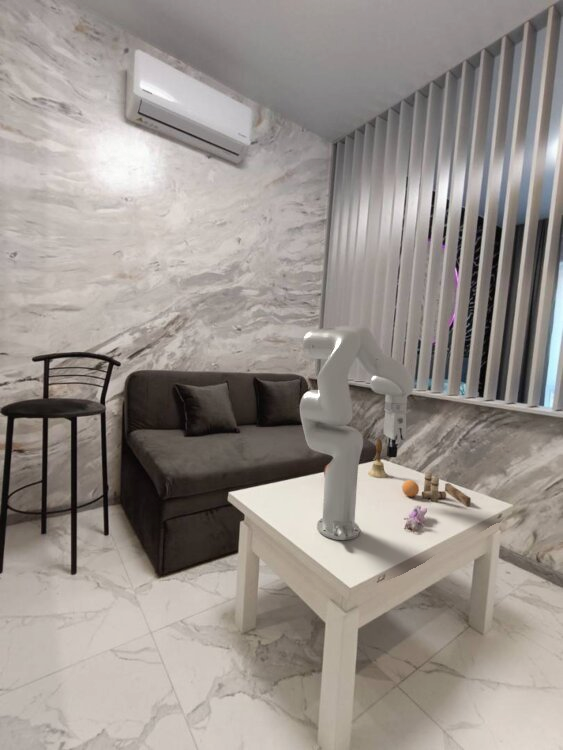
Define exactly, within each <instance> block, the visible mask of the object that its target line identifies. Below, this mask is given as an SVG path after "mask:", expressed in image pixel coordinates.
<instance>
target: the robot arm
mask: <svg viewBox="0 0 563 750" xmlns="http://www.w3.org/2000/svg"><path fill="white" fill-rule="evenodd" d="M302 350H303V352H304V354H305V355H306V356H307V357H308V358H311V359H314V360H326V361H325V363H324V364H323V366H322V367H321V369H320V370H319V373H318V375H317V379H316V380H317V389H310V390H308V391H306V392H305V393H303V395H302V396H301V399H300V402H299V403H300V404H299V414H300V415H299V416H300V421H301V425H302V429H303V433H304V437H305V441H306V444H307V446H308V447H309V449H310V450H311V451H315V452H316V453H321V454H324V455H328V456H331V457H332V459H331V461H330V462H329V463H328V464H329V465H328V464H327V465H328V466H327V465H326V466H327V468H326V471H325V476H324V486H323V488H324V489H323V504H322V505H323V507H322V518H320V519H319V520H317V523H316V529H317V530H318V532H319V533H320V534H321V535H323V536H325V537H326V538H329V539H333V540H337V541H349V540H353V539H356V537H358V536H359V535H360V526H359V525H358V524H357V522H355V521H356V507H357V505H356V504H357V489H358V473H359V472H358V470H359V465H360V464H359V463H360V459H361V454H362V450H363V447H364V438H363V435H362V433H361V432H360V431H359V430H358V429H357V428H355V427H352V426H349V424H350V423H351V421H352V419H353V405H352V397H351V391H350V384H349V374H350V370H351V368H352V367H353V364H354V362H355V361H356V363H357V365H359V367H360V369H361V370H362V371H364V372H365V373H368V374H370V375H372V377H371V378H370V380H369V381H370V383H369V386H370V389H371V390H372V391H373V392H374V393H376V394H379V395H385V398H384V399H385V403H384V411H385V413H384V414H385V415H384V420H383V435H384V436H385V438H386V439H387V440H386V445H387V447H386V456H387V457H388V458H393V459H394V458H397V457H398V447H399V445H401V444H402V443H401V440H402V441H405V440H406V438H407V434H406V433H407V414H406V413H407V405H408V404H407V403H408V396H410V395H411V394H412V393H413V391H414V385H415V384H414V380H413V376H412V375H411V373H410V371H409V369H408V368H407V367H406V366H405V365H404V364H403V363H402V362H401V361H399V360H397V359H395V358H394V357H392V356H391V355H389V354H388V355H387V354H386V353H384V351H383V350H382V348H381V346H380V345H379V342H377V340H376V338H375V336H374V335H373V333H372V332H371V330H370V329H369V328H367V327H365V326H362V325H341V326H340V325H339V326H331V327H324V328H315V329H312V330H309V331H308V332H307V333H306V334H305V335H304V337H303V340H302Z"/></svg>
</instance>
